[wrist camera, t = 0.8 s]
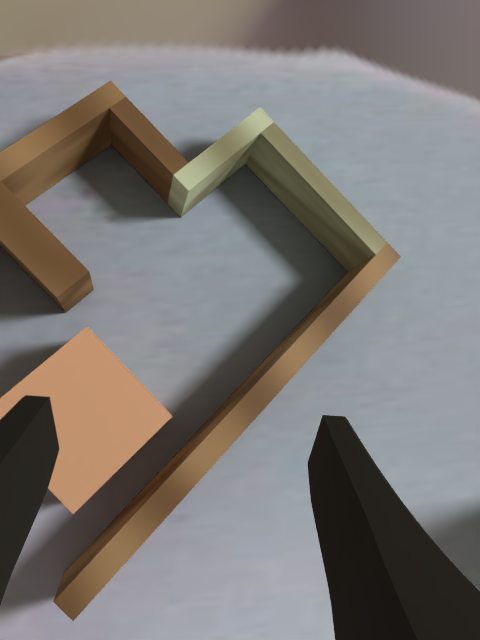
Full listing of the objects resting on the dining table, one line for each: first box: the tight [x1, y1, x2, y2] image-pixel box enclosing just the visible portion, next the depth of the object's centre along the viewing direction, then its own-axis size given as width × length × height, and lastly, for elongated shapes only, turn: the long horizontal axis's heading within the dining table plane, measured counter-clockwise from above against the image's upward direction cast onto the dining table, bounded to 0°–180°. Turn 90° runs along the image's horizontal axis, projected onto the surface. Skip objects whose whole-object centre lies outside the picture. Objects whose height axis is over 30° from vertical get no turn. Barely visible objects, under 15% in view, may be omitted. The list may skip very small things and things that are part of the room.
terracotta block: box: [0, 327, 172, 514], centre depth 22 cm, size 6×6×4 cm
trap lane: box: [0, 81, 401, 621], centre depth 24 cm, size 25×19×4 cm
